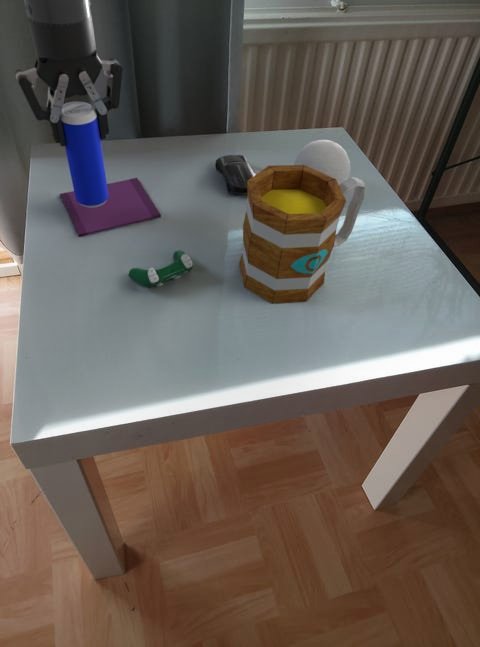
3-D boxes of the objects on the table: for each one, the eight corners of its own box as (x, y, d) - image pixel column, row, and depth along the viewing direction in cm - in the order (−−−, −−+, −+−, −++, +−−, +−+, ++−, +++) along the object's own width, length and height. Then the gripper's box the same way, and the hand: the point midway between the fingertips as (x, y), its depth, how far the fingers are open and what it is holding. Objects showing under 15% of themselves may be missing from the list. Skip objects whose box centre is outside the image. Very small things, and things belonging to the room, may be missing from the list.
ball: (285, 203, 91) (293, 152, 83) (294, 174, 97) (302, 124, 90) (340, 214, 89) (353, 164, 82) (345, 184, 96) (358, 134, 88)
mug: (268, 317, 72) (282, 234, 61) (221, 260, 79) (226, 176, 68) (372, 274, 80) (401, 194, 68) (321, 226, 87) (340, 146, 76)
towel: (78, 236, 81) (78, 234, 80) (59, 195, 87) (59, 193, 87) (161, 216, 85) (161, 214, 85) (137, 179, 92) (136, 177, 92)
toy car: (241, 162, 99) (242, 143, 96) (262, 197, 91) (264, 178, 88) (212, 165, 97) (213, 147, 94) (232, 201, 90) (233, 182, 87)
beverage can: (98, 187, 84) (84, 97, 73) (115, 202, 81) (102, 111, 70) (70, 197, 82) (50, 106, 70) (86, 213, 79) (68, 121, 68)
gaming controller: (135, 294, 76) (147, 292, 70) (125, 271, 75) (136, 266, 70) (187, 272, 80) (203, 268, 74) (178, 249, 79) (193, 244, 74)
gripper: (107, -5, 66) (121, 120, 78) (-10, 4, 61) (25, 136, 73) (126, 15, 61) (137, 144, 74) (2, 26, 56) (37, 162, 69)
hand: (81, 139), depth 74 cm, fingers closed on beverage can, 5 cm apart
